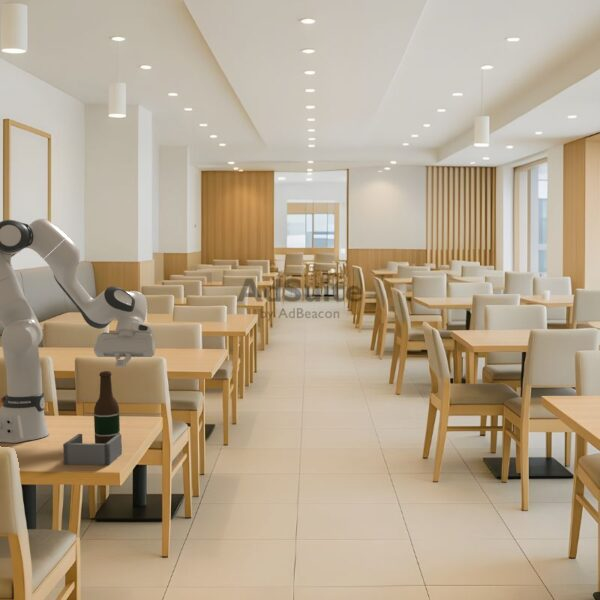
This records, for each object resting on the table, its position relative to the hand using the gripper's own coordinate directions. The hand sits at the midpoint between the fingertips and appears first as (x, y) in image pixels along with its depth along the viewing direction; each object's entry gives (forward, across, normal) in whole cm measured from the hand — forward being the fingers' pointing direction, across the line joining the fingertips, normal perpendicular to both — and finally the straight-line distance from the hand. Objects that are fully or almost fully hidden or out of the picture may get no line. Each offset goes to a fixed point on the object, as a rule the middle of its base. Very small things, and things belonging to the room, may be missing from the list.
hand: (120, 365), depth 263 cm
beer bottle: (+28, 0, +6) cm, 28 cm away
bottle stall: (+37, 0, -4) cm, 37 cm away
